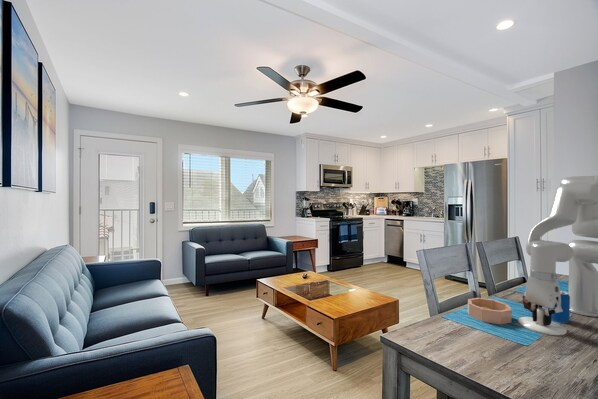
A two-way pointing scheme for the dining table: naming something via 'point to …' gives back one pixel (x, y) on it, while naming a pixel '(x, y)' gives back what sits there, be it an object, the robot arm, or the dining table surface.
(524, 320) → the lid
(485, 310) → the octagonal ring frame
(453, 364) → the dining table surface
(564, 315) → the beverage can
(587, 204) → the robot arm
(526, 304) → the mate gourd
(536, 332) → the mat
